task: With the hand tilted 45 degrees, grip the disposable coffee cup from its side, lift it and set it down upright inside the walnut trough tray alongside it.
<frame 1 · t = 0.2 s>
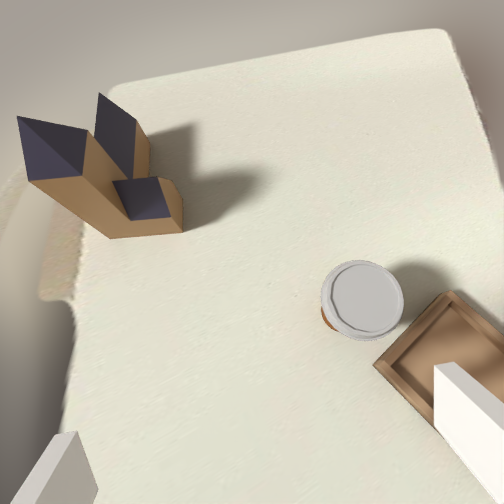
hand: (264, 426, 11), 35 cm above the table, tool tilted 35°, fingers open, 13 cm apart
model church: (148, 187, 56), on the table
disposable coffee cup: (342, 311, 47), on the table
trough tray: (465, 383, 43), on the table
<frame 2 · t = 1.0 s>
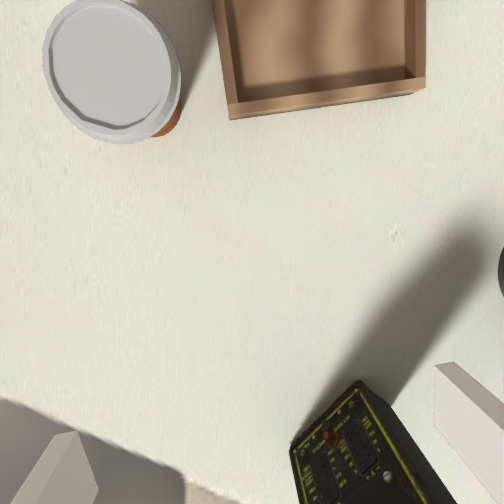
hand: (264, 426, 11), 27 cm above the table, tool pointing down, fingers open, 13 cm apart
disposable coffee cup: (151, 106, 33), on the table
trough tray: (313, 29, 32), on the table
voltmeter: (337, 424, 45), on the table
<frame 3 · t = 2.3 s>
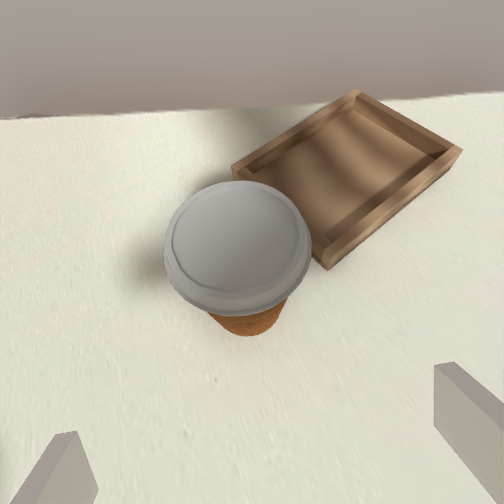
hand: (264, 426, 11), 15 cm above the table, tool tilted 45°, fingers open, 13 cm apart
disposable coffee cup: (248, 303, 30), on the table
trough tray: (340, 177, 36), on the table
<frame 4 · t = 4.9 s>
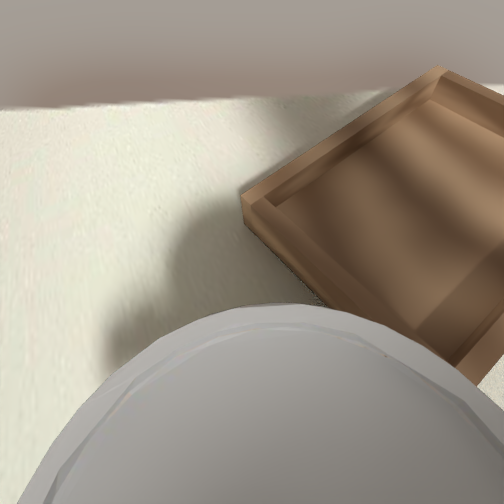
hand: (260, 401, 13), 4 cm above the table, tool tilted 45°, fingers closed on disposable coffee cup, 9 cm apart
disposable coffee cup: (278, 482, 15), on the table, touching gripper
trough tray: (424, 211, 21), on the table
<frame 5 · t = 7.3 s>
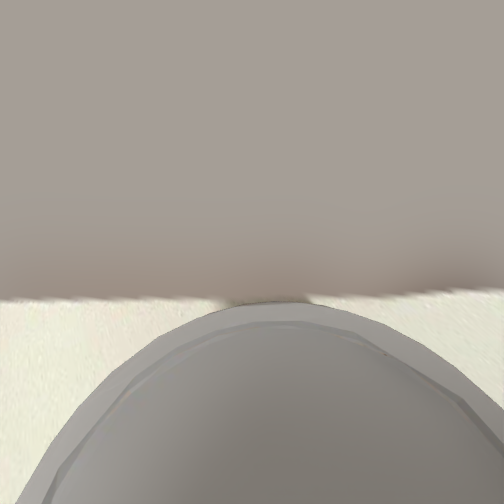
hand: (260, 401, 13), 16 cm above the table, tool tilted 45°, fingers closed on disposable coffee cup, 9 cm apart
disposable coffee cup: (278, 482, 15), point 12 cm above the table, touching gripper
when the fingers open (6 cm above the table, at t = 9.8 s): disposable coffee cup moves 3 cm, resting on trough tray.
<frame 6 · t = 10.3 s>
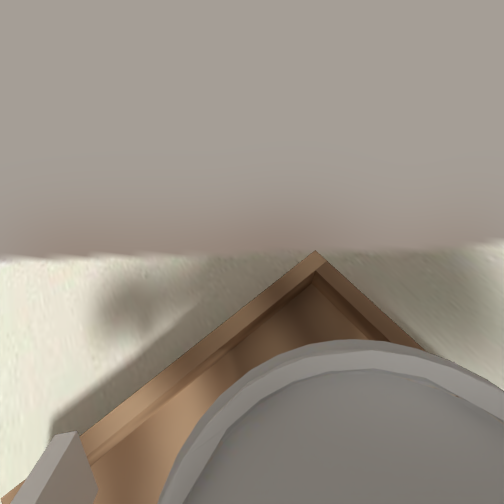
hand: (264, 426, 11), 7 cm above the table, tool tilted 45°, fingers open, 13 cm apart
disposable coffee cup: (339, 486, 15), point 1 cm above the table, touching gripper, trough tray
trough tray: (274, 478, 16), on the table
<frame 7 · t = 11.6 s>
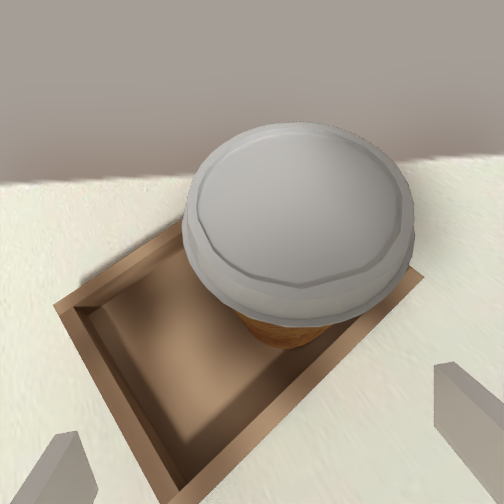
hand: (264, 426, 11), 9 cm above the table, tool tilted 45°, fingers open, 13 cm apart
disposable coffee cup: (284, 305, 23), point 1 cm above the table, touching trough tray
trough tray: (240, 306, 23), on the table
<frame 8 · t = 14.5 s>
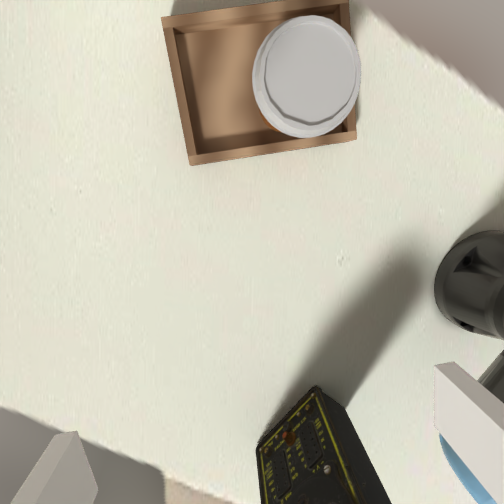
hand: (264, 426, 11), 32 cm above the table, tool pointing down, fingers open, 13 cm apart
disposable coffee cup: (284, 105, 37), point 1 cm above the table, touching trough tray
trough tray: (262, 89, 38), on the table
voltmeter: (299, 424, 51), on the table
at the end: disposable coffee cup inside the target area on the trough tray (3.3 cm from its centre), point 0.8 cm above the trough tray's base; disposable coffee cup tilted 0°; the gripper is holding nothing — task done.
